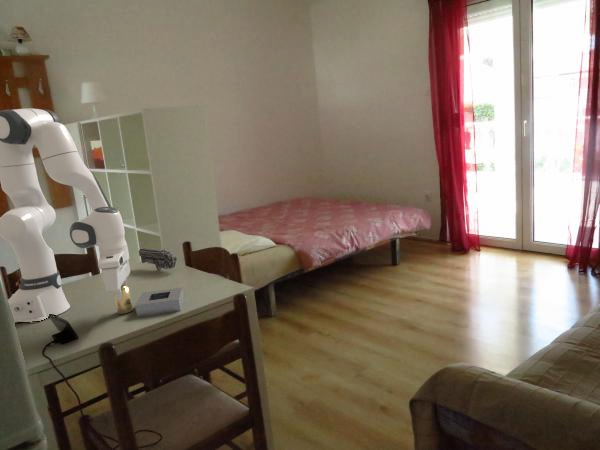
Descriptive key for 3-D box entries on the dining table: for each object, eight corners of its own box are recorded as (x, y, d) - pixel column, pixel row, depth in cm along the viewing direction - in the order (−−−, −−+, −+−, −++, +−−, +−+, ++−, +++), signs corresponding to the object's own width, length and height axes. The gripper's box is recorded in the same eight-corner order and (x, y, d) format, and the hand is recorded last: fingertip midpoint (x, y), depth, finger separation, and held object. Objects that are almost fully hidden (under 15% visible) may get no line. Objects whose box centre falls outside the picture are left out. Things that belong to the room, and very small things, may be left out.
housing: (137, 319, 155) (135, 305, 154) (144, 306, 167) (141, 292, 166) (181, 313, 157) (178, 299, 156) (184, 300, 169) (182, 287, 168)
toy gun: (145, 266, 217) (142, 245, 215) (180, 271, 204) (176, 249, 201) (139, 268, 215) (136, 247, 212) (174, 274, 201) (170, 251, 199)
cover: (115, 314, 158) (111, 290, 156) (119, 308, 162) (114, 285, 161) (131, 312, 158) (126, 288, 156) (134, 306, 163) (129, 283, 161)
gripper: (112, 249, 166) (119, 286, 169) (96, 265, 146) (104, 307, 149) (131, 246, 167) (137, 283, 170) (117, 263, 147) (125, 304, 150)
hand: (121, 295), depth 159 cm, fingers closed on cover, 5 cm apart
